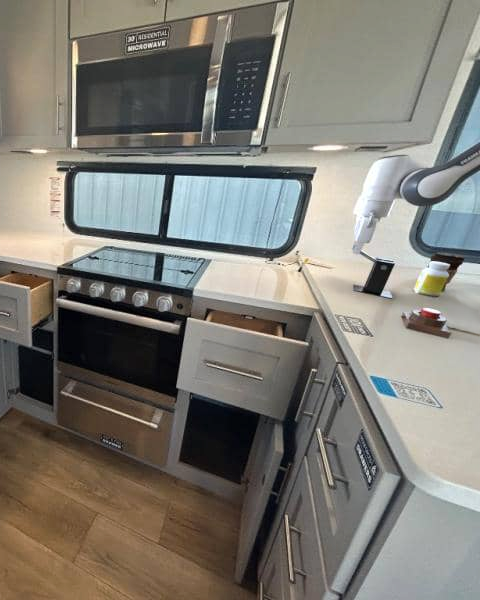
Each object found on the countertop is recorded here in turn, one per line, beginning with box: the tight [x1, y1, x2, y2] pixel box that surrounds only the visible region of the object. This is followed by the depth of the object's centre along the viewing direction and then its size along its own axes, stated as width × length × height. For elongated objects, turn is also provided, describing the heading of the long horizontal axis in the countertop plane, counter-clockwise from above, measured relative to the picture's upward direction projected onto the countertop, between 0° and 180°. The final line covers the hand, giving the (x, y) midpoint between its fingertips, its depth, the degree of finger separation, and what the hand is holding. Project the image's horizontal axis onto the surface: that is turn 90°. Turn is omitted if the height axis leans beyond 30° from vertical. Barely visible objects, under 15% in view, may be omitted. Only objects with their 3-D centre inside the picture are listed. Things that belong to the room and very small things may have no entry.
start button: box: [420, 307, 442, 319], centre depth 87 cm, size 4×4×2 cm
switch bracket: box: [352, 257, 396, 300], centre depth 109 cm, size 10×8×12 cm
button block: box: [400, 309, 452, 339], centre depth 88 cm, size 10×8×4 cm
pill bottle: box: [412, 261, 450, 298], centre depth 110 cm, size 6×6×12 cm
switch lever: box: [352, 247, 383, 264], centre depth 108 cm, size 11×5×2 cm, turn 53°
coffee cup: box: [427, 252, 465, 292], centre depth 118 cm, size 9×8×13 cm
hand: (355, 252), depth 110 cm, fingers closed on switch lever, 5 cm apart
